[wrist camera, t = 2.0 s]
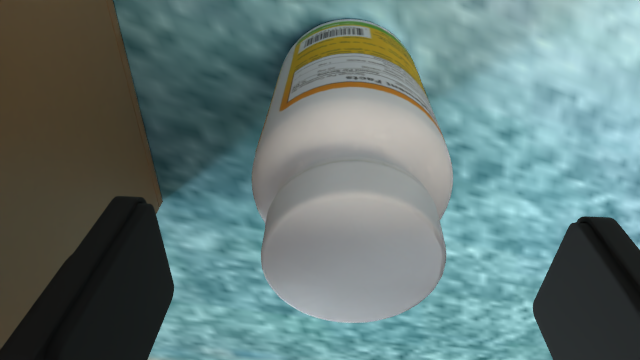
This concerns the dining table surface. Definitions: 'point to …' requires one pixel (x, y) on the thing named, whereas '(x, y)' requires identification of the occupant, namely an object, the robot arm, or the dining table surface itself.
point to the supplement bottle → (351, 177)
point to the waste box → (62, 139)
